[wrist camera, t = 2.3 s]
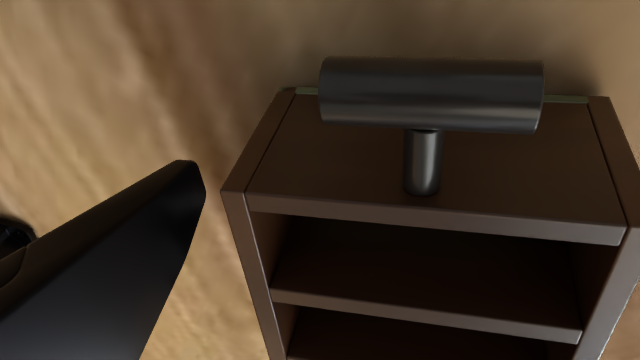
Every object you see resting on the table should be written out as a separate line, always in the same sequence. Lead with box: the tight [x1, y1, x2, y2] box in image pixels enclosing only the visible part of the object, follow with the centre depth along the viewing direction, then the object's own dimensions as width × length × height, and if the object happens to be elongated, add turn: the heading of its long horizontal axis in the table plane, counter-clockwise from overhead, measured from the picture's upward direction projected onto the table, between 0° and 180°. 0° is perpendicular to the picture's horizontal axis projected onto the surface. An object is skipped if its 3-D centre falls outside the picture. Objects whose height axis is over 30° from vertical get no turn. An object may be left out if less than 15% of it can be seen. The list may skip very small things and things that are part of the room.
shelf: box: [220, 56, 640, 360], centre depth 18 cm, size 14×12×6 cm
